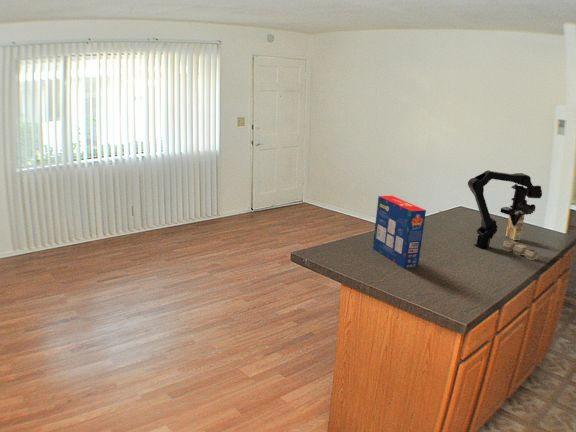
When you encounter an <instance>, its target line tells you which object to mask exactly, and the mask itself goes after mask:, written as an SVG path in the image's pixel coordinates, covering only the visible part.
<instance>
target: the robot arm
mask: <svg viewBox="0 0 576 432" xmlns="http://www.w3.org/2000/svg"><path fill="white" fill-rule="evenodd" d="M491 180H496V181H504V182H510V183H514V185H512V186H511V189H513V190H514V194H513V197H511V201H512V205H509V206H503V207H501V208H500V213H502V214H505V215H508V216H509V215H510V217H511V220H512V224H513V225H514V226H516V224H517V222H518V221H519V219H520V218H521V216H523V215H524V216H525V215H526V216H527V215H532V214H533V213H534V212H536V205H535V204H528V200H527V199H526V197H527V198H528V199H541V198H542V196H543V190H542V185H538V184H537V185H533V182H532V178H531V176H530V175H527V174H525V173H522V172H519V173H506V172H500V171H491V170H485V171H484V172H481V174H478V175H476V176H475V177H472V178H470V179H469V180H468V181H467V186H468V188H469V190H470V192H471V193H472V194H473V196H474V198H475V199H474V200H475V201H476V205H477V209H478V211H479V214H480V218H481V222H480V223H481V226H479V228H477V229H476V233H477V234H478V235H477V238H476V239H477V240H476V243H474V244H473V246H475V247H478V248H479V249H481V250H487V249H491V248H492V247H491V246H490V243H491V240H492V239H493V237H494V235H495V234H496V233H497V232H498V227H499V226H498V225H497V221H496V220H495V219H494V218H492V217H491V215H490V212H489V208H488V205H487V202H486V199H485V196H484V191H485V189H484V187H485V186H487V184H488V183H490V181H491Z"/></svg>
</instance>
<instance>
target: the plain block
mask: <svg viewBox="0 0 576 432" xmlns="http://www.w3.org/2000/svg"><path fill="white" fill-rule="evenodd" d="M526 249H528V247H527V246H526V245H522V244H516V245H514V250H513V251H512V253H513V252H514V253H517V254H520V255H521V254H525V250H526ZM514 253H513V254H514Z"/></svg>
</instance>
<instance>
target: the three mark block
mask: <svg viewBox="0 0 576 432" xmlns="http://www.w3.org/2000/svg"><path fill="white" fill-rule="evenodd" d="M539 253H540V251H539V250H537V249H533V248H527V249H526V250H525V255H523V257H524V256H526V257H528V258H531V259H533V258H539Z"/></svg>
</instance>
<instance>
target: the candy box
mask: <svg viewBox="0 0 576 432" xmlns="http://www.w3.org/2000/svg"><path fill="white" fill-rule="evenodd" d="M524 219H525V215H523V216H521V218H520V219H519V221H518V222H517V224H516V226H514V225H513V224H512V220H511V217H510V215H508V220H507V226H506V230H505V231H506V233H505V237H506V236H508V237H509V238H508V237H507V238H508V239H510V238H511V239H513V240H520V241H521V236H522V232H523V226H524ZM511 239H510V240H511ZM513 240H512V241H513Z"/></svg>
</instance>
